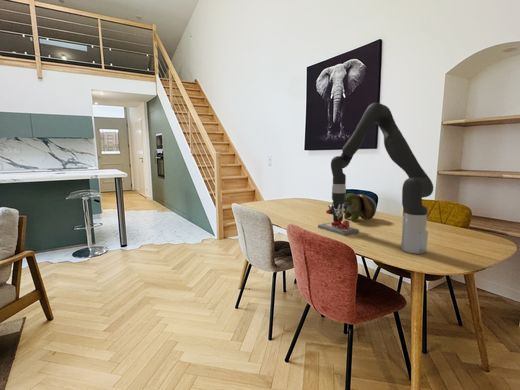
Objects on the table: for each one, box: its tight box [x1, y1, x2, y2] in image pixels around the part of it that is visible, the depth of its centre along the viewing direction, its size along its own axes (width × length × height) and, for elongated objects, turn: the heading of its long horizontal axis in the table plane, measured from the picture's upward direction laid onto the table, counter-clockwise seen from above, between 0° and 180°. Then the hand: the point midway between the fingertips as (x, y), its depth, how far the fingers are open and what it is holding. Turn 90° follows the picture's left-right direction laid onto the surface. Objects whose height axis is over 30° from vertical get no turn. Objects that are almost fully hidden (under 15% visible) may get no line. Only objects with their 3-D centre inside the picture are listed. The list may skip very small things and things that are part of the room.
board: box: [317, 221, 360, 236], centre depth 163 cm, size 20×12×2 cm, turn 32°
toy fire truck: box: [326, 209, 350, 229], centre depth 162 cm, size 3×14×10 cm, turn 45°
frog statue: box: [343, 192, 377, 223], centre depth 185 cm, size 19×16×25 cm
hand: (338, 221), depth 162 cm, fingers closed on toy fire truck, 3 cm apart
